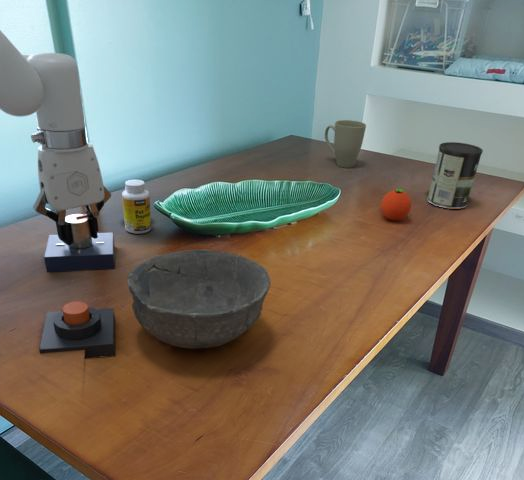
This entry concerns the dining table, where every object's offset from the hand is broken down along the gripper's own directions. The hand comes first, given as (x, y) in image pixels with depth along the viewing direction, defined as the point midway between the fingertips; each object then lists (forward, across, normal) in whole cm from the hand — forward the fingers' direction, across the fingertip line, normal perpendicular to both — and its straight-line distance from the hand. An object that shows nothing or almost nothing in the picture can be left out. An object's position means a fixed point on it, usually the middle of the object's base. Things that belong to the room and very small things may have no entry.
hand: (79, 238), depth 100 cm
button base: (+4, -13, -25) cm, 28 cm away
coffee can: (+4, +90, -23) cm, 93 cm away
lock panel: (+4, 0, 0) cm, 4 cm away
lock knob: (+1, 0, 0) cm, 1 cm away
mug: (+4, +92, +15) cm, 93 cm away
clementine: (+4, +69, -22) cm, 72 cm away
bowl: (+4, +3, -35) cm, 35 cm away
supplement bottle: (+4, +16, +6) cm, 18 cm away
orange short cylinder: (+1, -13, -25) cm, 28 cm away
